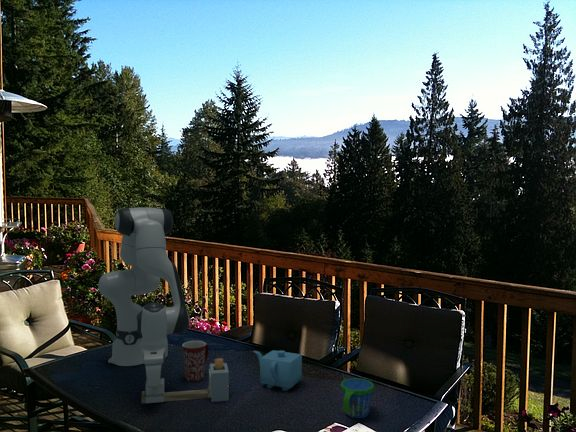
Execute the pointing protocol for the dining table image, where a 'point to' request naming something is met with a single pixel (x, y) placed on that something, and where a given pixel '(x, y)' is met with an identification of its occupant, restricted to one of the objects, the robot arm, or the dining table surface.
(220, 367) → the plunger
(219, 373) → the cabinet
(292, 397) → the dining table surface
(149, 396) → the carriage
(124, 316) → the robot arm
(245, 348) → the dining table surface
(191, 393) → the rail
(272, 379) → the teapot
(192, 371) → the mug
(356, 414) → the snack cup
